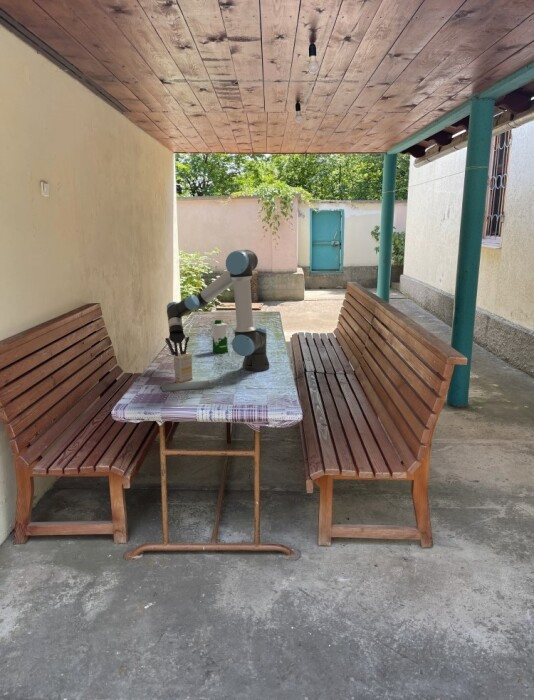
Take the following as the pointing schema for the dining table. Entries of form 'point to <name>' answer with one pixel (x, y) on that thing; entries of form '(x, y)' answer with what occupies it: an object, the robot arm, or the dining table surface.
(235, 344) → the robot arm
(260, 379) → the dining table surface
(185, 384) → the rubber mat
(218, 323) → the milk carton
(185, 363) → the supplement box
